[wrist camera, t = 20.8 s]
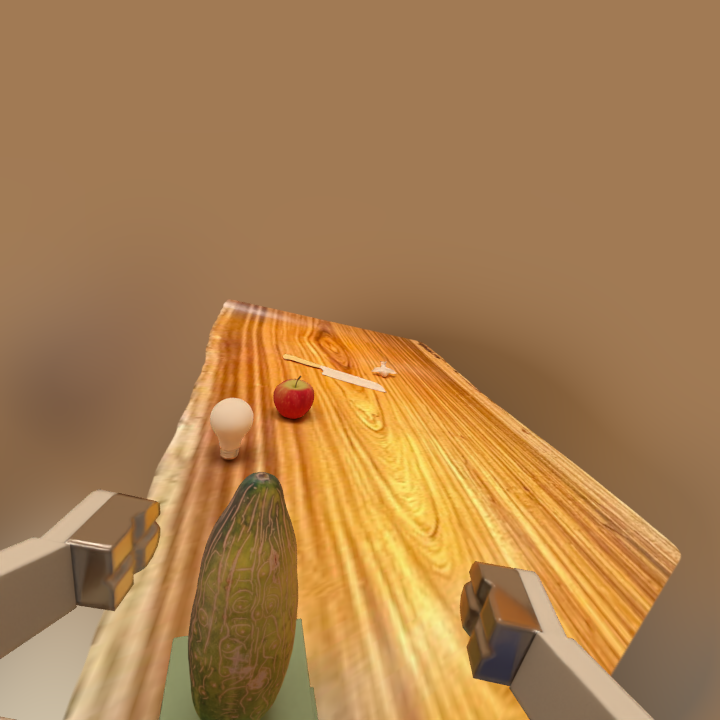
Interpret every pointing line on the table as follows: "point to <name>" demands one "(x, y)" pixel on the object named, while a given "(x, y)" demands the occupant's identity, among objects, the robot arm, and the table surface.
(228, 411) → the light bulb
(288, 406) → the apple
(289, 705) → the block
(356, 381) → the knife
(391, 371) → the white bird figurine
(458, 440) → the table surface
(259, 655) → the vegetable
